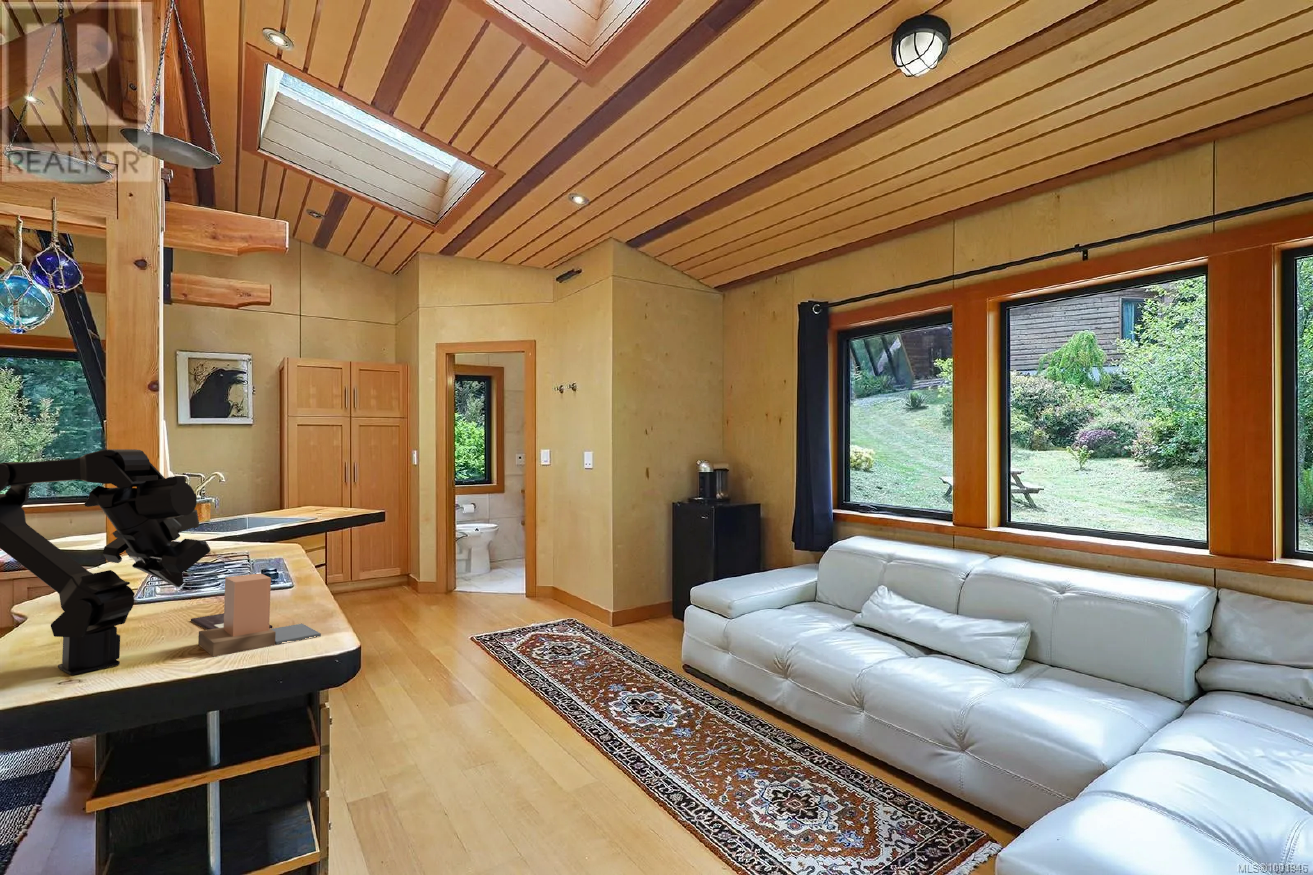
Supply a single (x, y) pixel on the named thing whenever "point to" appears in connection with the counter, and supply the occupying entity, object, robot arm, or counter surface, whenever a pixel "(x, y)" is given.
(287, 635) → the mat
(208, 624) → the chocolate bar
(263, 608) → the block
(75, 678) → the counter surface
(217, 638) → the board
